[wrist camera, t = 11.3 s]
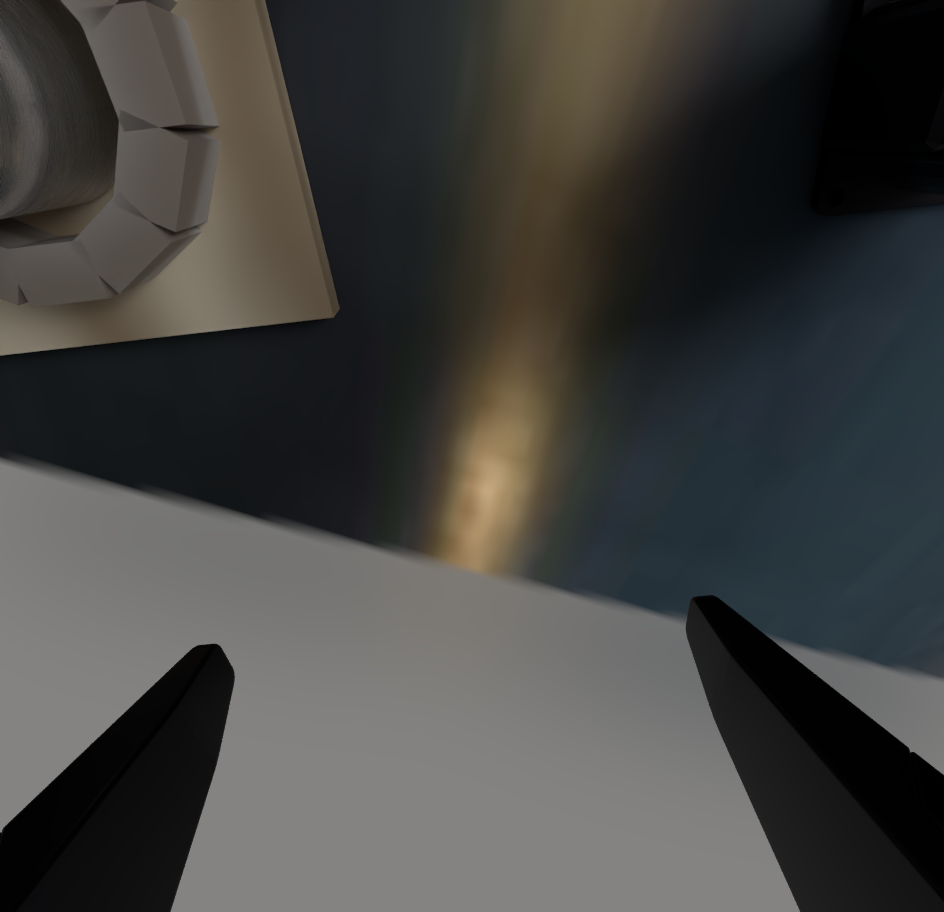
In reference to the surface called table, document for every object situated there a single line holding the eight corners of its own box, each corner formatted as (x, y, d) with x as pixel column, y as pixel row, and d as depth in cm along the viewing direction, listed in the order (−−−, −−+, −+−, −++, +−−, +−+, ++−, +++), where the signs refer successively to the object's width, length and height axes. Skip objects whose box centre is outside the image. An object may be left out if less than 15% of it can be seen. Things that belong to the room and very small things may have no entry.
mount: (185, -324, 10) (100, -474, 8) (339, 308, 17) (319, 337, 15) (-415, -233, 11) (-683, -349, 8) (-31, 351, 18) (-112, 386, 15)
